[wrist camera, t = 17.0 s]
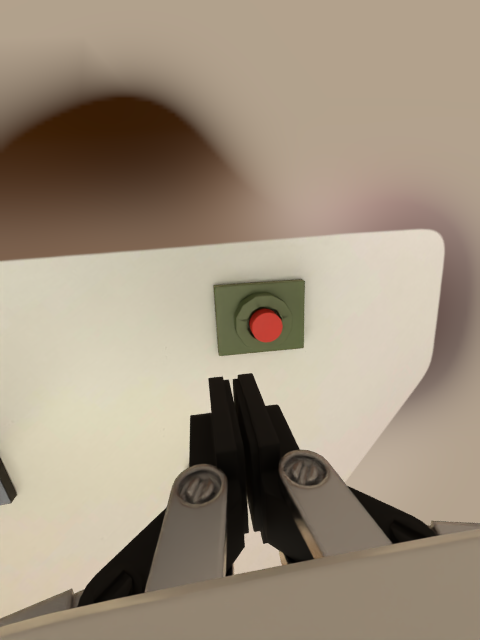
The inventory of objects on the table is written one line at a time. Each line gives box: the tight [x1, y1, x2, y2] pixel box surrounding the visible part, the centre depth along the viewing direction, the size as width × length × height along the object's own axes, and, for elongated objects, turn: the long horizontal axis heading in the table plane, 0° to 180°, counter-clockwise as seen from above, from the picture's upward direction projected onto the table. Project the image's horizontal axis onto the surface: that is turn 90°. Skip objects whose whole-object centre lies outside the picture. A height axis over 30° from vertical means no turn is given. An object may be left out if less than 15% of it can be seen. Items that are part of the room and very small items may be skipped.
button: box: [249, 309, 283, 342], centre depth 31 cm, size 3×3×2 cm
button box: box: [214, 279, 305, 356], centre depth 33 cm, size 10×8×3 cm
